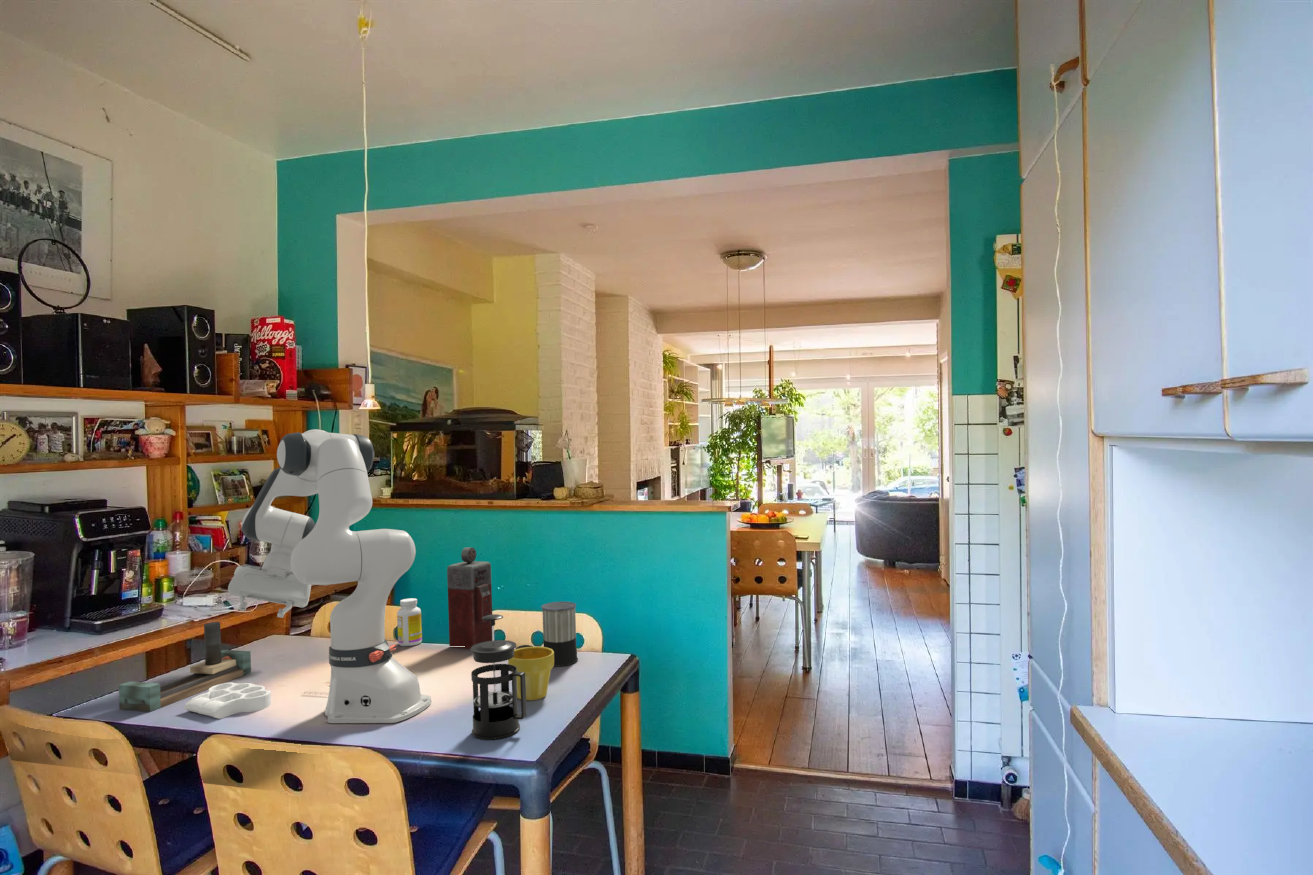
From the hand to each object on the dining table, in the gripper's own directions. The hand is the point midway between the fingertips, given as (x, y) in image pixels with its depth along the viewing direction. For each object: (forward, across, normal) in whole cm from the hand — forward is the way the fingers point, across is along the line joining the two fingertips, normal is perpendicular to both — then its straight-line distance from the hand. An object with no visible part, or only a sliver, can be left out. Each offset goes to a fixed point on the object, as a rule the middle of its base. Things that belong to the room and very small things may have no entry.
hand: (261, 613), depth 193 cm
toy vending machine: (0, +57, -3) cm, 57 cm away
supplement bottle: (-3, +40, +8) cm, 41 cm away
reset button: (+13, -4, +6) cm, 15 cm away
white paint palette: (+32, +4, -12) cm, 34 cm away
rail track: (+22, -9, +3) cm, 24 cm away
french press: (+47, +57, -51) cm, 90 cm away
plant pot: (+32, +66, -40) cm, 84 cm away
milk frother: (+14, +73, -24) cm, 78 cm away
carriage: (+15, -6, +4) cm, 17 cm away
